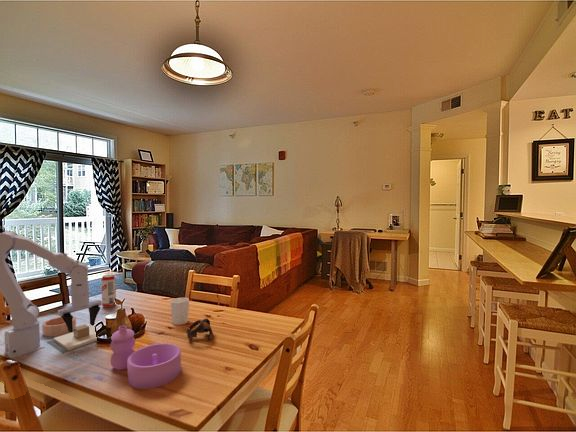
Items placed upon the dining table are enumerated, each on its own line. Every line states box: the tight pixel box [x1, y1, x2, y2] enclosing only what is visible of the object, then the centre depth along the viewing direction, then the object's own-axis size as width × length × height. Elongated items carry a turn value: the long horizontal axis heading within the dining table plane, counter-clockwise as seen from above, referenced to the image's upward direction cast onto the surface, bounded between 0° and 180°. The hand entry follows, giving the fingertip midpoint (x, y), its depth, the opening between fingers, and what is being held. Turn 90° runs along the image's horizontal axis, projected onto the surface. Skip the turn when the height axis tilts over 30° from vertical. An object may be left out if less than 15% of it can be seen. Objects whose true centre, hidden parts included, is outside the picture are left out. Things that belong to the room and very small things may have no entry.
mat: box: [46, 339, 99, 354], centre depth 120 cm, size 18×16×1 cm
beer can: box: [100, 274, 117, 309], centre depth 158 cm, size 6×6×16 cm
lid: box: [53, 324, 99, 350], centre depth 120 cm, size 14×14×4 cm
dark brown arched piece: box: [185, 318, 215, 341], centre depth 122 cm, size 12×10×8 cm
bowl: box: [41, 315, 77, 337], centre depth 127 cm, size 11×11×4 cm
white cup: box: [169, 297, 190, 326], centre depth 137 cm, size 8×8×10 cm
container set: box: [109, 325, 182, 390], centre depth 97 cm, size 25×15×13 cm, turn 68°
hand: (81, 328), depth 120 cm, fingers open, 7 cm apart
